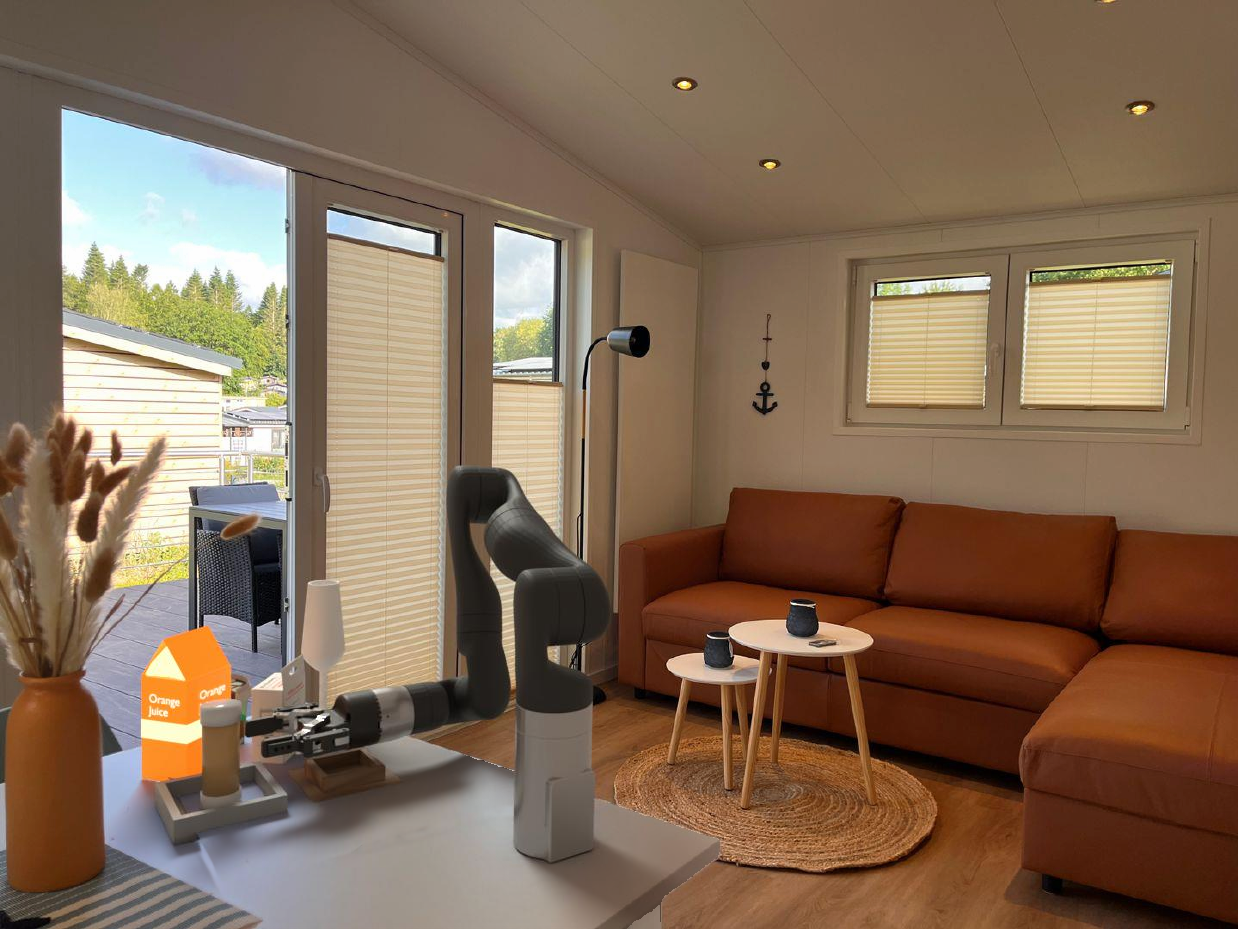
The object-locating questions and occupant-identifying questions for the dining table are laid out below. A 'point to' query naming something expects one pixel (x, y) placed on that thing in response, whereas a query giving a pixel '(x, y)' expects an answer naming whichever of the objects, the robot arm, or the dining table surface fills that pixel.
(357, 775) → the walnut block
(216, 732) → the cartridge fuse
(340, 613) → the champagne flute
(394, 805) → the dining table surface
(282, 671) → the ink cartridge box
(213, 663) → the orange juice
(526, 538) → the robot arm
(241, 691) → the food container
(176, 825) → the grey parts tray
